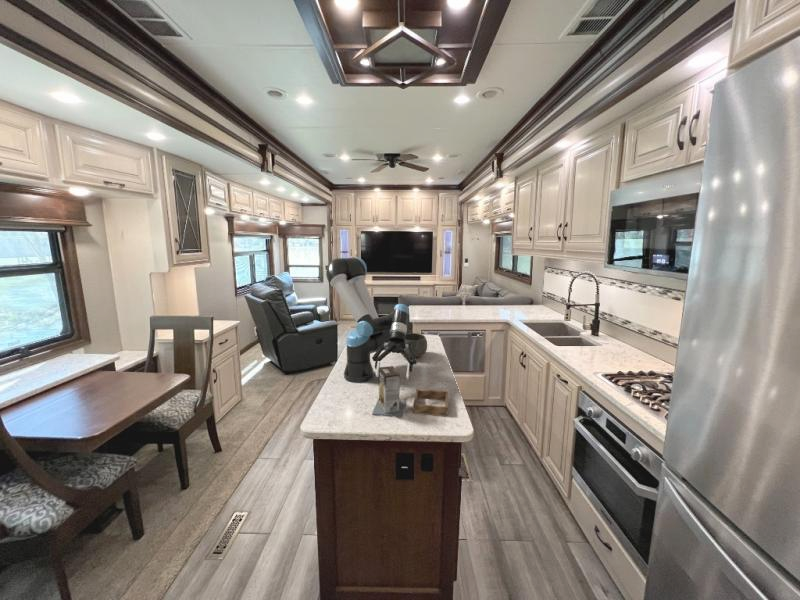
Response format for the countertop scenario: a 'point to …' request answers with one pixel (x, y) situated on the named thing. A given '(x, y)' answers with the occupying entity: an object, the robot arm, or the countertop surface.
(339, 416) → the countertop surface
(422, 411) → the walnut frame
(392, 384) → the coffee box
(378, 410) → the slate mat
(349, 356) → the robot arm
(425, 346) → the bowl
